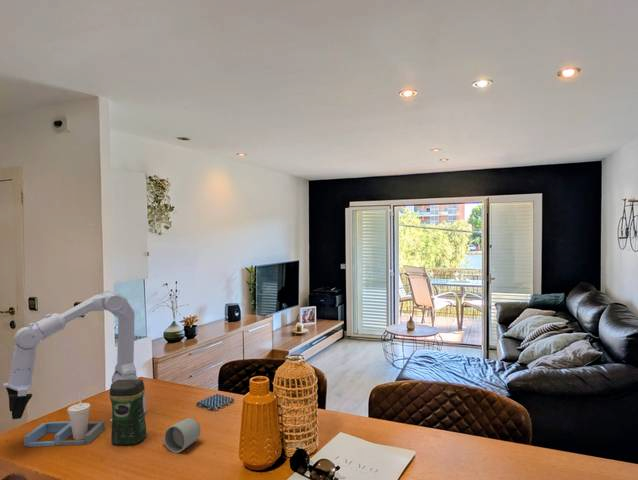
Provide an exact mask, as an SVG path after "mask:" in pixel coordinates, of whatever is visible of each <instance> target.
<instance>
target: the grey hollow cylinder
mask: <svg viewBox="0 0 638 480" xmlns="http://www.w3.org/2000/svg"><path fill="white" fill-rule="evenodd" d="M200 435H201V425H200V423H199V422H198V421H197V420H196V419H194V418H192V417H191V418H190V417H188V418H185V419H182V420H180V421H178V422H176V423H175V424H173V425H170V426H169V427H167V429H166V430H165V432H164V437H163V439H162V443H163V446H166V447H167V449H168V450H169V451H170V452H172V453H176V454H178V453H181V452H183V451H184V450H185V449H186V448H188V447H190V445H192V444H194V443H195V442H196V441H197V440H198V439H199V438H200Z"/></svg>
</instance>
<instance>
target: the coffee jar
mask: <svg viewBox="0 0 638 480" xmlns="http://www.w3.org/2000/svg"><path fill="white" fill-rule="evenodd" d="M145 390H146V389H145V383H144V380H143V379H142V378H140V379H139V378H138V380H117V381H115V382H114V383H112V382H111V383H110V387H109V400H110V403H111V410H112V411H111V416H112V417H111V419H112V422H111V435H110V437H111V438H110V439H111V440H110V441H111V443H112V444H113V445H117V446H119V445H120V446H123V445H124V446H125V445H127V446H128V445H136V444H138V443H139V442H141V441H143V440H144V439H145V437H146V436H147V426H146V425H147V424H146V419H145V413H144V409H143V395H144V393H145V392H146V391H145Z"/></svg>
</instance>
